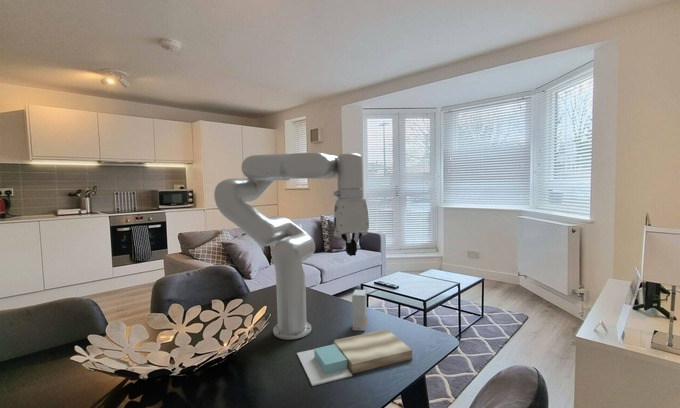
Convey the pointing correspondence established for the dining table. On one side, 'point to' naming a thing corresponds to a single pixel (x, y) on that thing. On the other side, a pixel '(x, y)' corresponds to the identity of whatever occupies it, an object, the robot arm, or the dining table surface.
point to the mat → (319, 369)
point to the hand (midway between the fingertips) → (351, 254)
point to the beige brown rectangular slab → (372, 350)
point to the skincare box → (359, 310)
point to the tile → (330, 359)
